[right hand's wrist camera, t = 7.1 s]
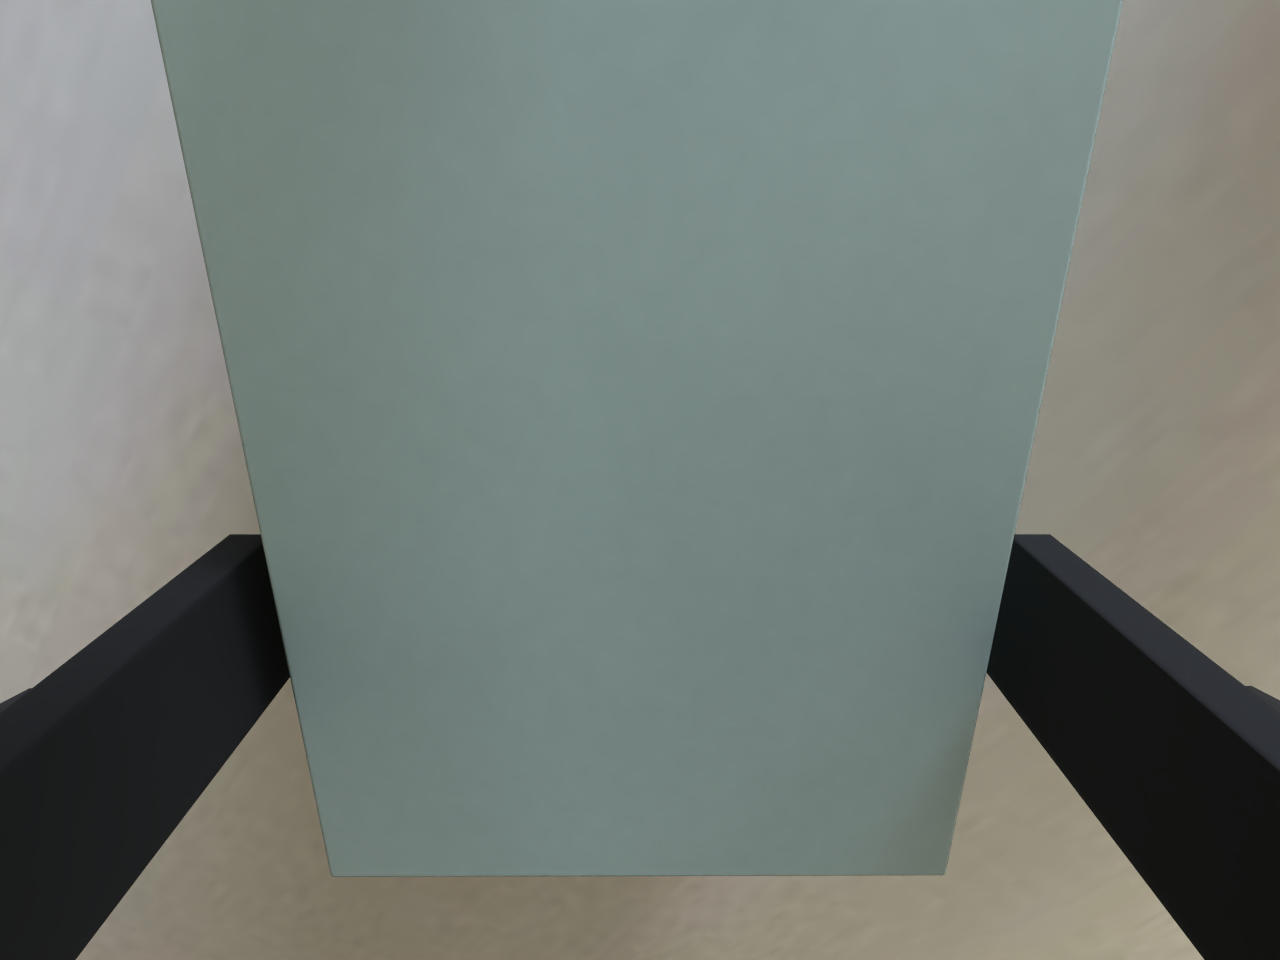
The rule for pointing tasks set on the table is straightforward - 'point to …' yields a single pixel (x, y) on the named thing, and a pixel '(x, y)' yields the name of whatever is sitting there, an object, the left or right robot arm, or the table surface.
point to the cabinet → (637, 405)
